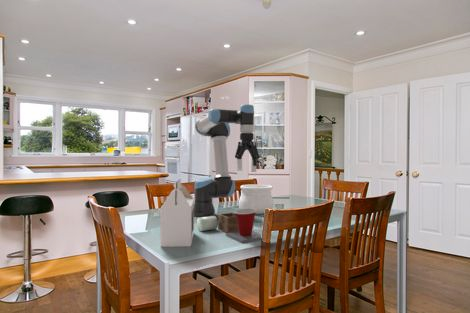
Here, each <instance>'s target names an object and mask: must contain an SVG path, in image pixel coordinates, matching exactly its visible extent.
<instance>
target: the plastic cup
mask: <svg viewBox="0 0 470 313" xmlns="http://www.w3.org/2000/svg"><path fill="white" fill-rule="evenodd" d="M234 213H235V214H236V217H237V222H238V228H239V233H240V235H242V236H250V235H251V234H252V231H253V229H254V222H255V218H256V214H255V213H256V210H255V209H240V208H239V209H236V210H234Z"/></svg>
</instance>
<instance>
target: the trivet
mask: <svg viewBox="0 0 470 313" xmlns="http://www.w3.org/2000/svg"><path fill="white" fill-rule="evenodd" d="M225 236H226V237H228V238H230V239H232V240H235V241H237V242H238V243H241V244H244V243H249V242H255V241H260V240H262V239H261V233H259V232H256V231H254V230H252V234H251V235H250V236H242V235H240V233H239V231H237V232H231V233H226V232H225Z"/></svg>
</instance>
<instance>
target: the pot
mask: <svg viewBox="0 0 470 313" xmlns="http://www.w3.org/2000/svg"><path fill="white" fill-rule="evenodd" d="M240 189H241V194H240V197H239V201H238V207H239V210H240V209H255V210H256V213H255V215H256V214H257V215H261V214H265V213H264V211H265V209H266V208H269V209H274V205H275V202H274V198H273V195H272V190H273V186H272V185H269V184H257V183H256V184H254V183H253V184H242V185H240Z"/></svg>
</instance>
